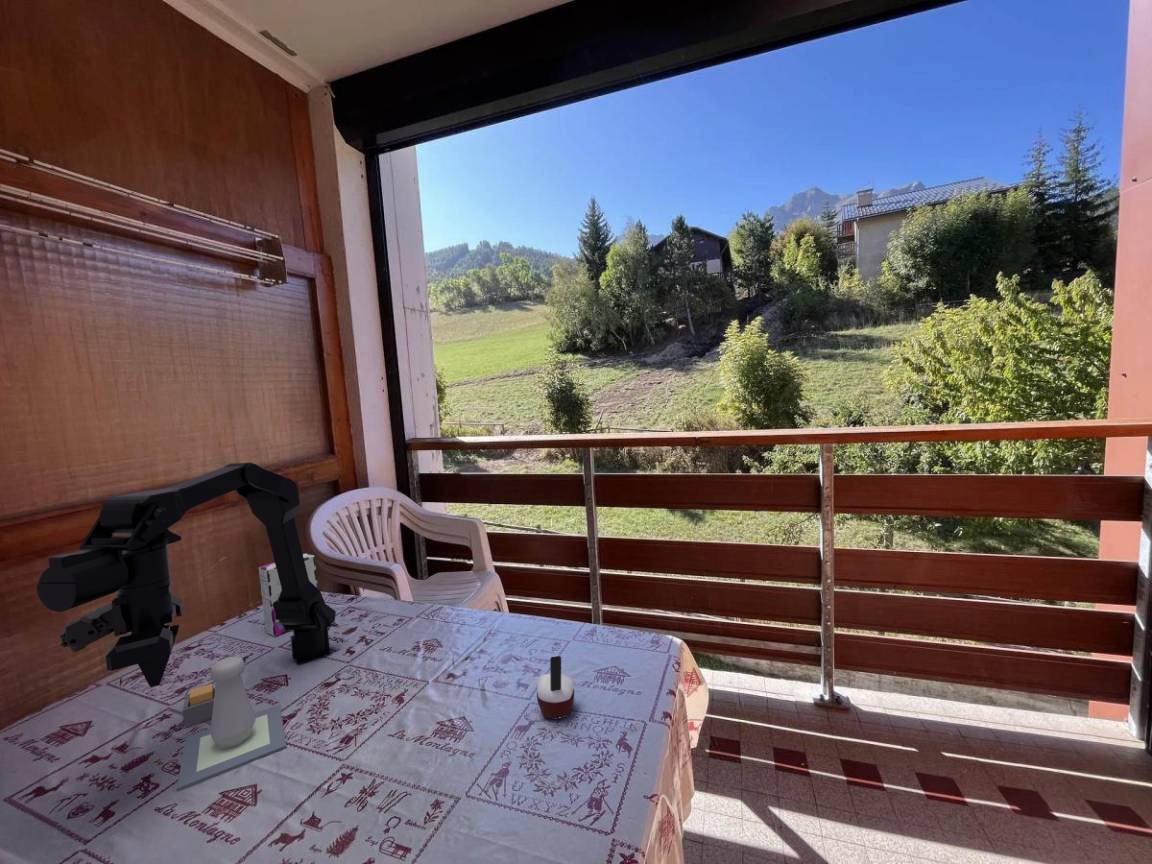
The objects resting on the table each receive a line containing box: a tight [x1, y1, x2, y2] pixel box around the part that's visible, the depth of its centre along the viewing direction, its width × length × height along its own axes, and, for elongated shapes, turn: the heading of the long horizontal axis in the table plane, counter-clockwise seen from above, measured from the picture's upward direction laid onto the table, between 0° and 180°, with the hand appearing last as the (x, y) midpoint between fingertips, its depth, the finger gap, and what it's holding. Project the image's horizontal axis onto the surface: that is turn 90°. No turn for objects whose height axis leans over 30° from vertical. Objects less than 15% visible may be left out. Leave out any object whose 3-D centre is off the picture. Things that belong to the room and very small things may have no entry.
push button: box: [189, 683, 214, 706], centre depth 82 cm, size 3×3×3 cm
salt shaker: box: [210, 655, 256, 750], centre depth 75 cm, size 6×6×13 cm
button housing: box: [182, 687, 215, 730], centre depth 82 cm, size 5×5×3 cm
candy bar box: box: [258, 553, 319, 638], centre depth 116 cm, size 11×5×16 cm, turn 147°
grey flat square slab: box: [176, 704, 287, 791], centre depth 75 cm, size 13×13×1 cm
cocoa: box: [536, 655, 575, 719], centre depth 78 cm, size 10×6×12 cm, turn 167°
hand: (155, 685), depth 69 cm, fingers closed
